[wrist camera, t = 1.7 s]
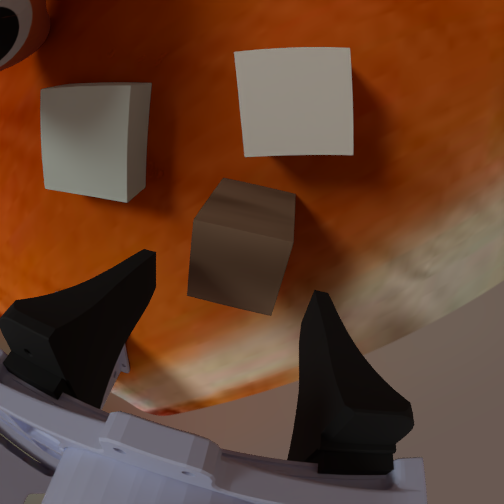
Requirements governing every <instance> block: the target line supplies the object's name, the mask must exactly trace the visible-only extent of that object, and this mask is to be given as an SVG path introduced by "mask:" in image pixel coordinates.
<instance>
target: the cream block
mask: <svg viewBox="0 0 504 504" xmlns="http://www.w3.org/2000/svg"><path fill="white" fill-rule="evenodd" d="M234 56H235V65H236V75H237V85H238V95H239V105H240V115H241V125H242V135H243V145H244V155H245V157H256V156H281V155H353V93H352V72H351V57H350V48H334V47H299V48H275V49H261V50H250V51H240V52H234Z"/></svg>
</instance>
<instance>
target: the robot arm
mask: <svg viewBox="0 0 504 504" xmlns="http://www.w3.org/2000/svg"><path fill="white" fill-rule="evenodd" d="M155 288H156V252H153V251H149V250H146V249H143V250H141V251H140V252H138V253H136V254H134V255H133V256H131V257H129V258H128V259H126V260H124V261H123V262H121V263H119V264H118V265H116V266H114V267H113V268H111V269H109V270H107V271H105V272H103V273H101V274H100V275H98V276H96V277H94V278H92V279H90V280H88V281H85V282H83V283H81V284H78V285H76V286H73V287H70V288H67V289H64V290H61V291H59V292H55V293H52V294H48V295H44V296H39V297H34V298H28V299H21V300H16V301H15V302H14V303H13V304H12V305H11V306H10V307H9V308H8V310H7V311H6V312H5V313H4V314H3V315H2V316H1V318H0V329H1V331H2V334H3V336H4V338H5V339H6V341H7V343H8V345H9V347H10V349H11V352H10V353H9V355H7V354H6V353H5V352H4V351H3V350H1V349H0V433H1V434H3V435H4V436H5V437H6V438H8V439H9V440H10V441H11V442H13V443H14V444H15V445H17V446H18V447H19V448H21V449H22V450H23V451H25V452H26V453H28V454H29V455H30V456H32V457H33V458H35V459H36V460H38V461H39V462H41V463H39V462H37V461H35V460H33V459H32V458H31V457H29V456H28V455H26V454H25V453H24V452H22V451H21V450H19V449H18V448H17V447H15V446H14V445H13V444H11V443H10V442H9V441H8V440H6V439H5V438H4V437H2V436H1V435H0V504H23V503H24V502H25V499H26V498H27V496H28V495H29V494H43V493H46V494H45V496H44V498H43V501H42V503H41V504H427V492H426V481H425V471H424V463H423V458H422V457H413V458H399V459H395V460H393V453H395V452H396V443H397V442H398V441H400V440H401V439H402V438H403V437H405V436H406V435H407V434H408V433H409V432H410V431H411V430H412V429H413V426H414V420H413V412H412V408H411V404H410V402H409V401H407V400H406V399H405V398H404V397H402V396H401V395H400V394H399V393H398V392H396V391H395V390H394V389H393V388H392V387H391V386H390V385H389V384H388V383H387V382H385V381H384V380H383V379H382V377H381V376H380V375H379V374H378V373H377V372H376V371H375V370H374V369H373V368H372V366H371V365H370V364H369V363H368V362H367V360H366V359H365V358H364V356H363V355H362V354H361V352H360V351H359V350H358V348H357V347H356V345H355V344H354V342H353V340H352V339H351V337H350V335H349V334H348V332H347V330H346V328H345V326H344V325H343V323H342V321H341V319H340V317H339V315H338V313H337V311H336V309H335V307H334V305H333V302H332V300H331V298H330V296H329V294H328V293H326V292H321V291H317V290H314V293H313V295H312V298H311V300H310V303H309V305H308V308H307V310H306V313H305V315H304V318H303V320H302V323H301V331H300V339H299V394H298V402H297V409H296V416H295V423H294V429H293V434H292V440H291V445H290V450H289V454H288V459H287V460H281V459H274V458H268V457H262V456H256V455H250V454H245V453H240V452H234V451H230V450H225V449H221V448H220V447H219V446H218V445H217V444H216V443H214V442H213V441H211V440H209V439H207V438H205V437H202V436H199V435H196V434H193V433H189V432H186V431H182V430H179V429H175V428H172V427H169V426H165V425H162V424H159V423H156V422H153V421H150V420H147V419H144V418H141V417H139V416H136V415H133V414H129V413H126V412H122V411H118V412H111V413H107V412H105V411H102V410H101V409H102V408H103V406H104V404H105V402H106V400H107V397H108V395H109V394H110V392H111V390H112V388H113V386H114V384H115V382H116V380H117V378H118V376H119V374H120V372H121V371H122V372H125V373H129V371H130V367H129V362H128V357H127V351H126V345H125V342H126V340H127V339H128V337H129V335H130V334H131V332H132V330H133V329H134V327H135V325H136V324H137V322H138V321H139V319H140V317H141V316H142V314H143V312H144V311H145V309H146V307H147V306H148V304H149V302H150V300H151V297H152V295H153V293H154V290H155Z"/></svg>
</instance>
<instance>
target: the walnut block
mask: <svg viewBox="0 0 504 504" xmlns="http://www.w3.org/2000/svg"><path fill="white" fill-rule="evenodd" d="M295 196H296V194H293V193H289V192H285V191H281V190H277V189H272V188H268V187H264V186H259V185H255V184H250V183H246V182H241V181H236V180H232V179H227V178H223V179H222V180H221V182H220V183H219V184H218V186H217V187H216V189H215V190H214V191H213V193H212V194H211V196H210V197H209V198H208V200H207V201H206V203H205V204H204V205H203V207H202V208H201V210H200V211H199V213H198V214H197V216H196V217H195V218H194V222H193V232H192V242H191V253H190V265H189V278H188V291H187V296H191V297H195V298H199V299H203V300H207V301H211V302H215V303H219V304H223V305H227V306H231V307H235V308H239V309H244V310H248V311H252V312H256V313H261V314H265V315H270V316H271V315H272V312H273V308H274V305H275V302H276V299H277V296H278V292H279V289H280V286H281V282H282V279H283V276H284V273H285V269H286V266H287V263H288V259H289V256H290V253H291V249H292V246H293V242H294V221H295Z"/></svg>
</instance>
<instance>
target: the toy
mask: <svg viewBox="0 0 504 504" xmlns="http://www.w3.org/2000/svg"><path fill="white" fill-rule="evenodd" d="M50 25H51V22H50V17H49V14H48V13H47V9H46V0H0V71H2V70H4V69H6V68H8V67H10V66H13V65H15V64H17V63H18V62H20V61H22V60H24V59H25V58H27V57H28V56H30V55H31V54H33V53H34V52H35V51H36V50H37V49H38V48H39V47H40V46H41V45H42V44H43V43H44V41H45V40H46V38H47V36H48V33H49V30H50Z"/></svg>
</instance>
